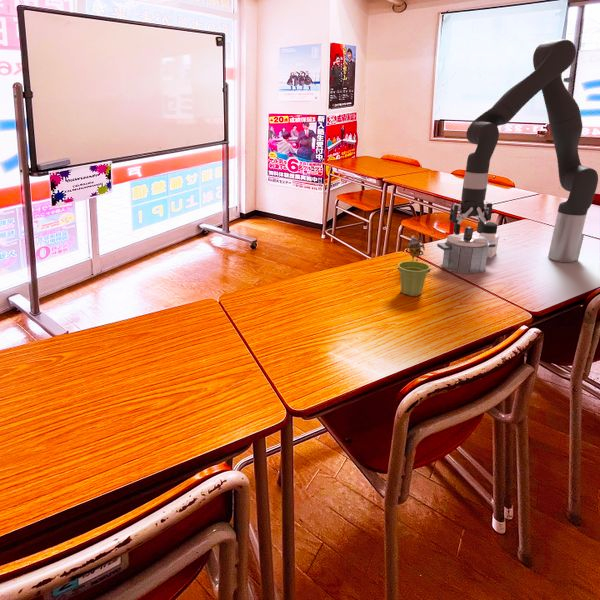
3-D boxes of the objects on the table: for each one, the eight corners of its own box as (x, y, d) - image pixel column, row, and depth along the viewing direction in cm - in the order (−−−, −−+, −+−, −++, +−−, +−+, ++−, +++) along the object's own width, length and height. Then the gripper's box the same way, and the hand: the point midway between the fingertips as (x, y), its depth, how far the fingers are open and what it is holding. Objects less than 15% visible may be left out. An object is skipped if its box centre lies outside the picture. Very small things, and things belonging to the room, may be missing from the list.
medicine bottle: (496, 253, 192) (501, 222, 187) (491, 258, 186) (496, 226, 181) (477, 249, 195) (481, 219, 190) (472, 254, 190) (476, 223, 185)
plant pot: (392, 287, 159) (394, 261, 156) (421, 286, 160) (424, 260, 157) (400, 298, 151) (402, 271, 147) (430, 298, 152) (434, 270, 148)
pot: (477, 258, 186) (480, 234, 182) (499, 271, 173) (504, 246, 170) (428, 261, 182) (431, 237, 178) (448, 275, 169) (451, 249, 166)
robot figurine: (431, 266, 177) (435, 233, 173) (430, 275, 169) (434, 241, 164) (399, 263, 180) (402, 230, 175) (397, 272, 172) (400, 238, 167)
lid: (474, 235, 181) (476, 221, 179) (496, 246, 169) (498, 231, 167) (439, 237, 179) (441, 223, 177) (459, 248, 166) (461, 234, 164)
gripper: (487, 182, 171) (480, 229, 178) (449, 184, 168) (443, 231, 175) (500, 187, 164) (492, 235, 171) (461, 188, 161) (454, 238, 168)
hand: (468, 233), depth 173 cm, fingers open, 8 cm apart
